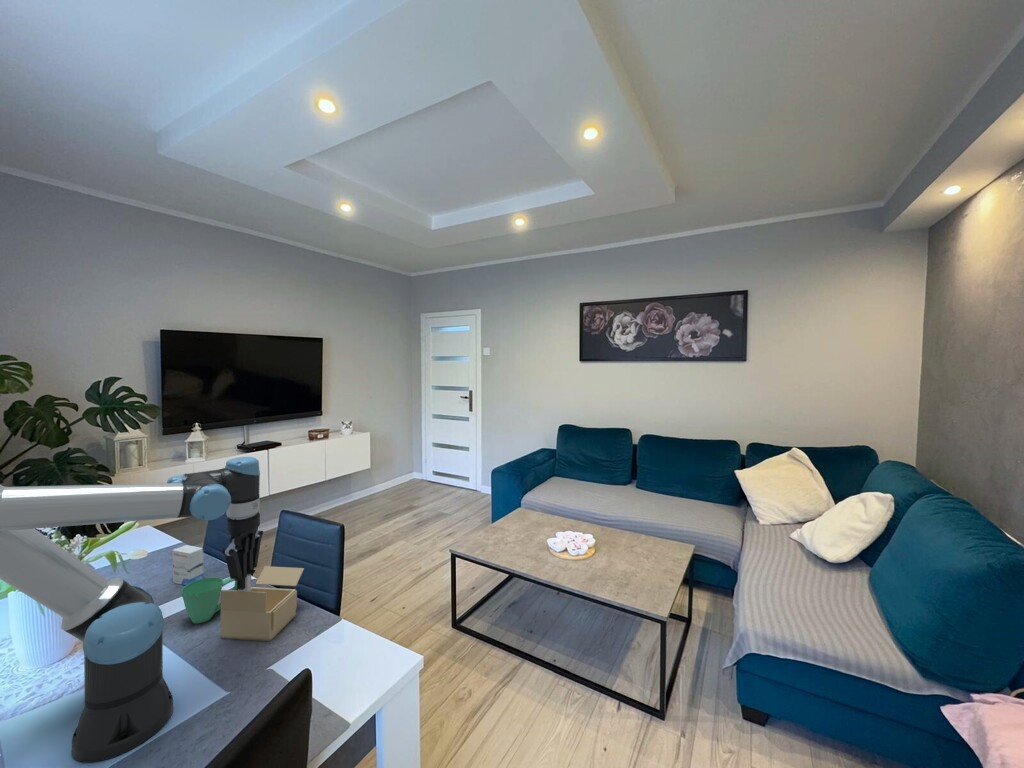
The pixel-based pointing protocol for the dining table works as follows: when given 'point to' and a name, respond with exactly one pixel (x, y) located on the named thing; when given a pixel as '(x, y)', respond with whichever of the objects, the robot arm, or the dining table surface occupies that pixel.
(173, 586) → the dining table surface
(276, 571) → the flap far
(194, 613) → the mug
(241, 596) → the flap near
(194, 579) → the ink box
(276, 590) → the carton
